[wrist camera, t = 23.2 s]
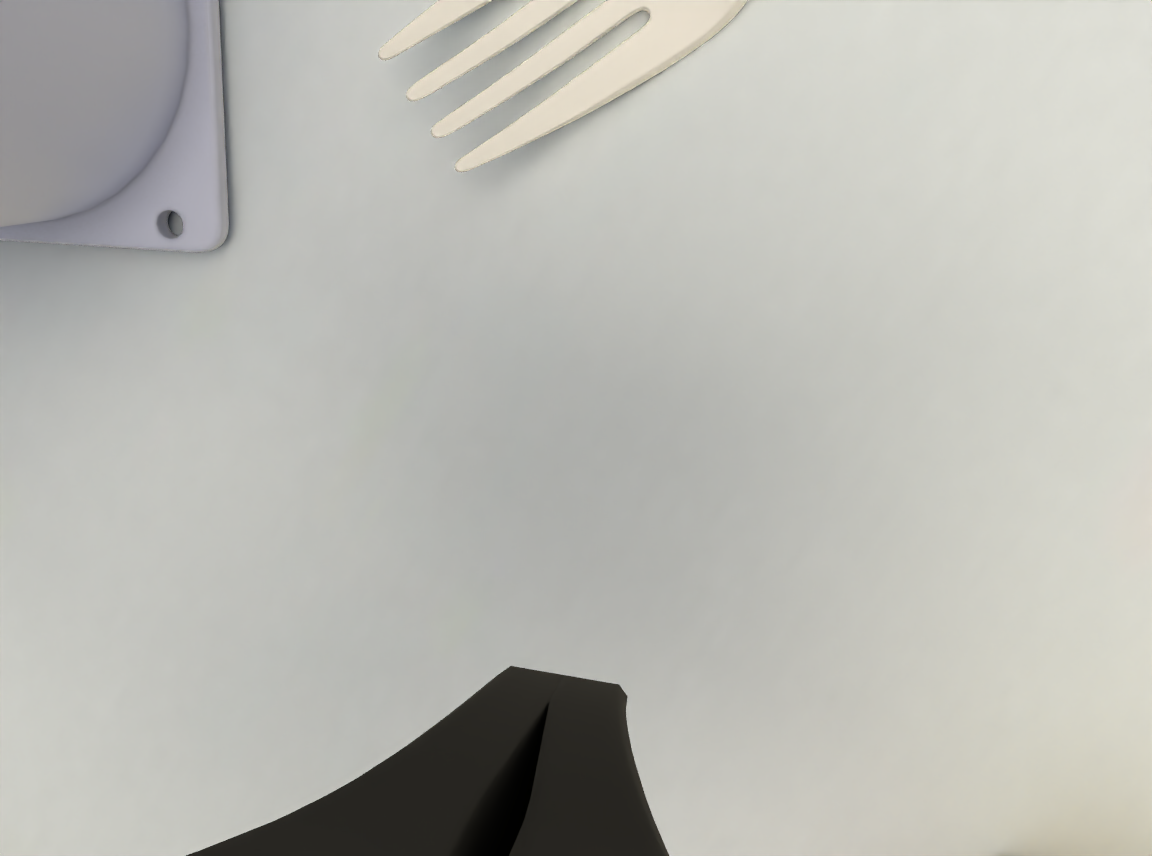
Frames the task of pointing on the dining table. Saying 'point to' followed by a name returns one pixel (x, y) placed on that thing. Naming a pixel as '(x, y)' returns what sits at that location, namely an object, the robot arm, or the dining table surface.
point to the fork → (558, 60)
